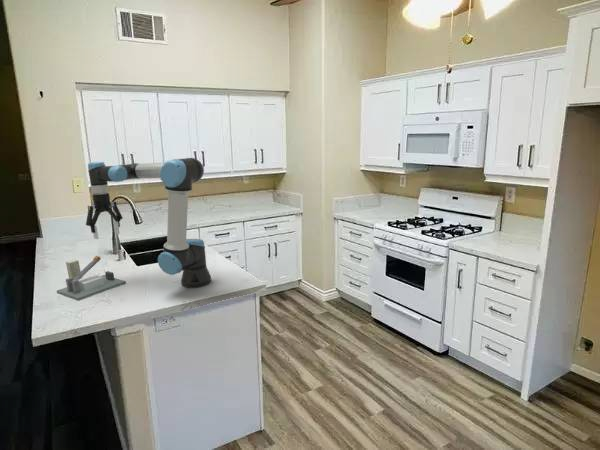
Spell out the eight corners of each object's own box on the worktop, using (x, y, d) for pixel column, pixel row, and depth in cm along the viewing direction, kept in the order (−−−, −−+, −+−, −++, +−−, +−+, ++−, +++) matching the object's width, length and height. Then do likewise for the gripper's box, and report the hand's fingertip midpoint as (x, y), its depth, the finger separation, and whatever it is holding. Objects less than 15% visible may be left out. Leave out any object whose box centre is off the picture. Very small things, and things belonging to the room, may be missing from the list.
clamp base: (126, 283, 205) (124, 269, 203) (78, 300, 185) (75, 285, 183) (104, 277, 216) (102, 263, 214) (56, 292, 195) (54, 278, 194)
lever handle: (101, 258, 201) (99, 256, 200) (76, 282, 192) (74, 280, 191) (98, 257, 203) (96, 255, 202) (73, 281, 193) (71, 279, 192)
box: (79, 277, 216) (75, 258, 213) (82, 279, 213) (79, 260, 211) (68, 280, 212) (65, 261, 209) (72, 282, 209) (68, 262, 207)
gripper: (117, 189, 206) (123, 230, 211) (72, 196, 187) (80, 240, 192) (126, 190, 202) (131, 231, 207) (81, 197, 183) (88, 242, 188)
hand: (107, 236), depth 199 cm, fingers open, 11 cm apart
